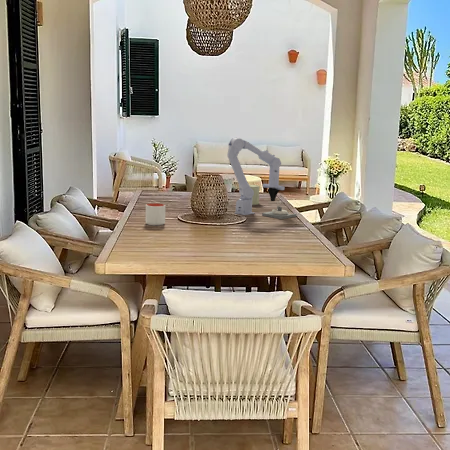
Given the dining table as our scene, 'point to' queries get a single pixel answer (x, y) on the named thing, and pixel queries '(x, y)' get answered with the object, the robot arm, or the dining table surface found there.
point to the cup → (155, 214)
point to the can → (255, 194)
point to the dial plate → (288, 215)
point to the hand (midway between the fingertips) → (272, 201)
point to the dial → (279, 211)
